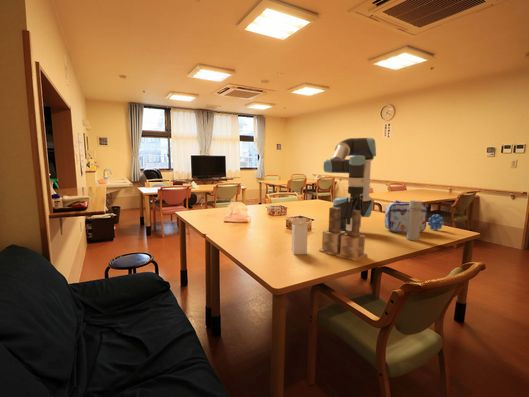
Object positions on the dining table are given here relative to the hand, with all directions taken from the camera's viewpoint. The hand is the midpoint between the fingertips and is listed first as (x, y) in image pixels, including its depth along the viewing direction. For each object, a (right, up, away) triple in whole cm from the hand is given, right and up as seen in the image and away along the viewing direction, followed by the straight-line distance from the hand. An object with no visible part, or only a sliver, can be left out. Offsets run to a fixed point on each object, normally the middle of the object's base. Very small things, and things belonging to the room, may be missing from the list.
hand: (353, 228), depth 148 cm
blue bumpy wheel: (+77, -8, +57) cm, 96 cm away
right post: (0, -13, +2) cm, 13 cm away
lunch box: (+52, -8, +53) cm, 75 cm away
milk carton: (-28, -14, +7) cm, 32 cm away
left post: (-8, -12, +9) cm, 17 cm away
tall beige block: (+47, -11, +33) cm, 59 cm away
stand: (-4, -14, +6) cm, 16 cm away
